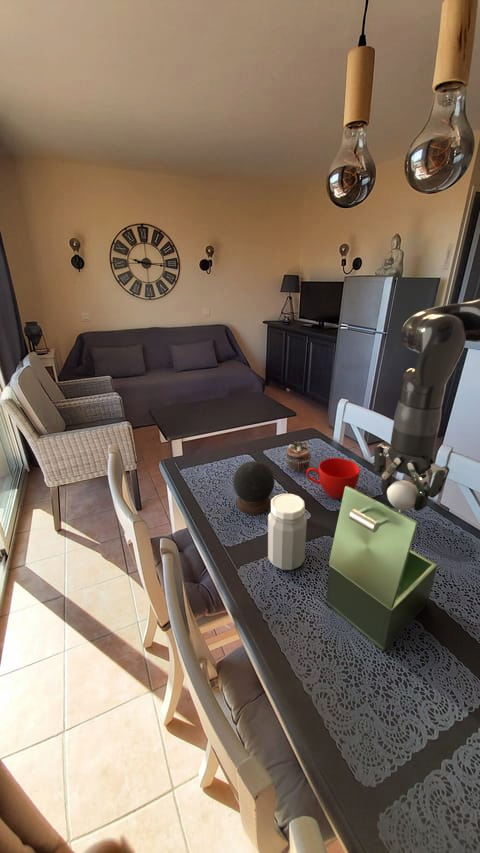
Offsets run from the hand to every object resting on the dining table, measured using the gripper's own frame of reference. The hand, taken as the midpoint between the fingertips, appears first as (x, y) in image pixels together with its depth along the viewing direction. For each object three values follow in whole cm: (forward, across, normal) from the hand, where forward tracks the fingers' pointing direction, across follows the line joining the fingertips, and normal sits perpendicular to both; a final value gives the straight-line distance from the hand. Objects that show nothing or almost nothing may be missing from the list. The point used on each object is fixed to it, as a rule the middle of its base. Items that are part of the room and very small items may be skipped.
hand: (401, 500), depth 73 cm
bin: (+27, 0, +3) cm, 27 cm away
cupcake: (+27, +54, -28) cm, 67 cm away
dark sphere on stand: (+27, +47, 0) cm, 54 cm away
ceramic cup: (+27, +35, -24) cm, 50 cm away
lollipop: (+11, 0, 0) cm, 11 cm away
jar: (+27, +23, +9) cm, 37 cm away
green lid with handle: (+5, 0, +10) cm, 11 cm away
